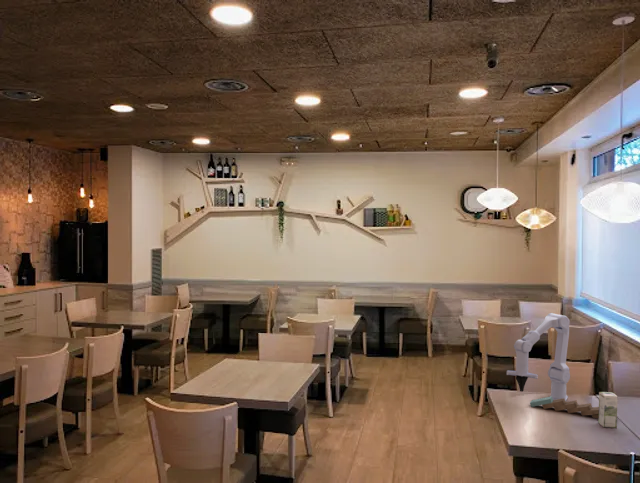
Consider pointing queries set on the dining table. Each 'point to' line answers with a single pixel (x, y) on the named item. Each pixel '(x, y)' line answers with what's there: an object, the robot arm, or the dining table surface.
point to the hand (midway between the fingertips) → (521, 390)
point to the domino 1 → (541, 401)
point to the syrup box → (608, 409)
